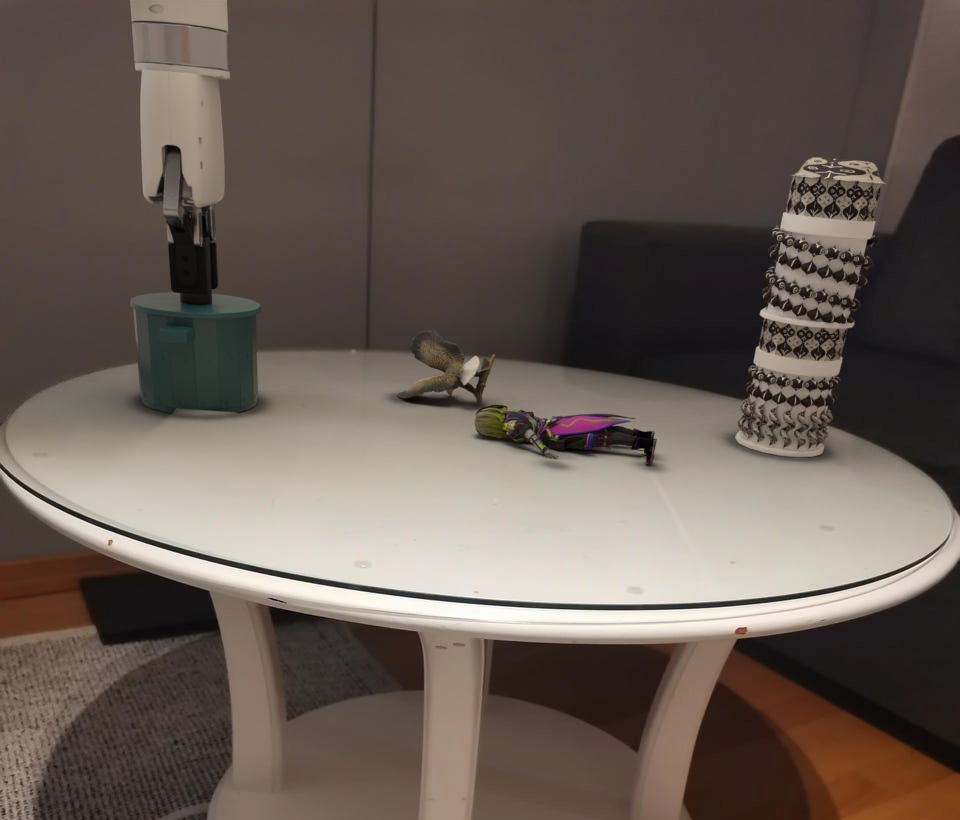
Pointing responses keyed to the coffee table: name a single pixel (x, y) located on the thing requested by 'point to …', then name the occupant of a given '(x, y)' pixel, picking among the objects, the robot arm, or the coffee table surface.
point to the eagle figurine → (446, 367)
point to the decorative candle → (809, 305)
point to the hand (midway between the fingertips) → (195, 288)
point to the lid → (196, 302)
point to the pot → (197, 363)
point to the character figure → (563, 430)
